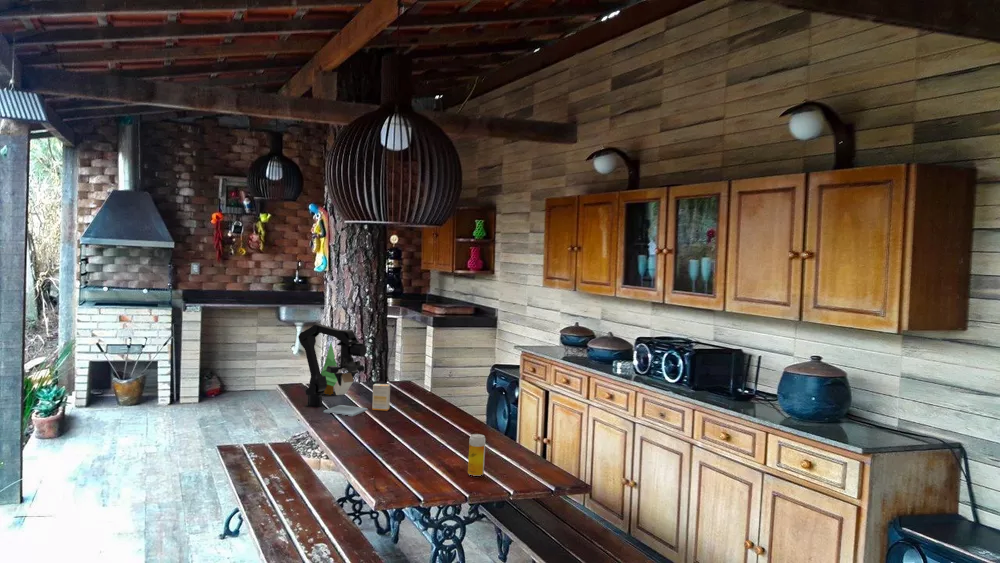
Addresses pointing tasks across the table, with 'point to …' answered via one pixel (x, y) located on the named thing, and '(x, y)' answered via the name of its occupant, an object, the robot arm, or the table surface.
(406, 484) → the table surface
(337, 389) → the tan block
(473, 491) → the table surface
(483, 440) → the beer glass
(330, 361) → the decorative tree
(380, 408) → the supplement box
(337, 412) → the slate mat
